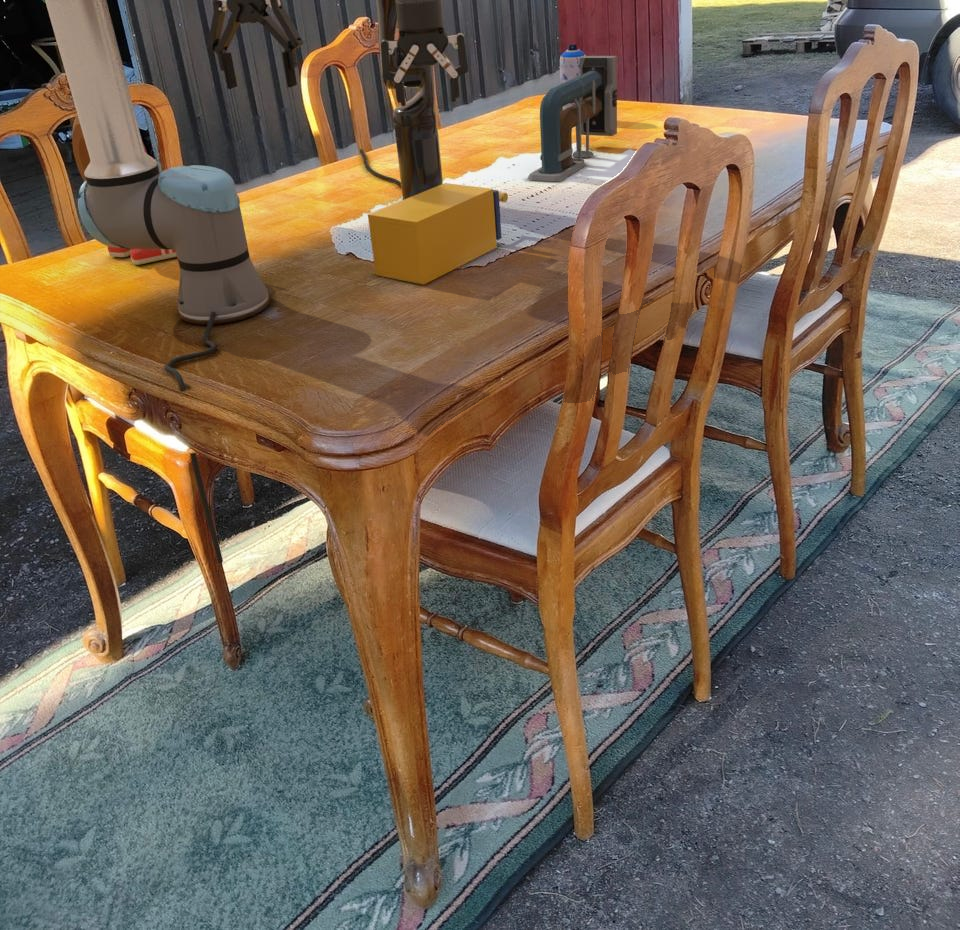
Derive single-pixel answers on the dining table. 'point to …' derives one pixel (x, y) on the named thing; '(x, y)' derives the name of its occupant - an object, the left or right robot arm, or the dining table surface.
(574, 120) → the clamp
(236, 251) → the left robot arm
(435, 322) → the dining table surface
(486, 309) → the dining table surface
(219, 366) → the dining table surface
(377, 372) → the dining table surface
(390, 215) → the yellow rectangular block
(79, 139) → the toy
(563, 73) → the aerosol can
